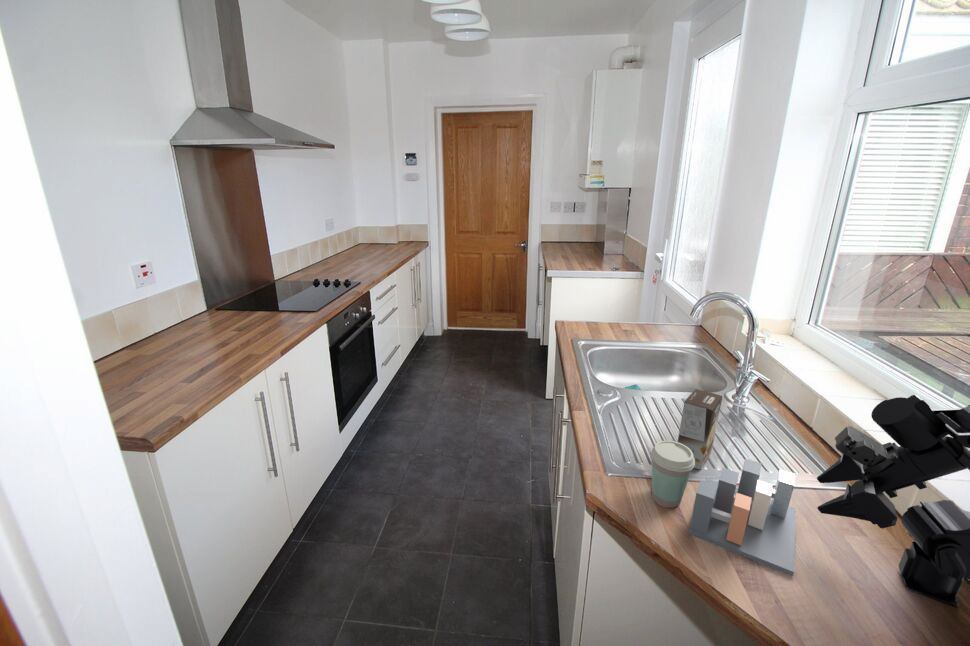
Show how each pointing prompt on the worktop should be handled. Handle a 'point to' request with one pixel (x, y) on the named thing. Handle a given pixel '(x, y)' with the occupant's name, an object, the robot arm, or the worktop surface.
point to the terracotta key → (735, 518)
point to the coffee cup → (670, 472)
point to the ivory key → (759, 504)
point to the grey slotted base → (757, 545)
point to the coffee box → (700, 424)
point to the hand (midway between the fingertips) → (818, 494)
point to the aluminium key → (782, 493)
